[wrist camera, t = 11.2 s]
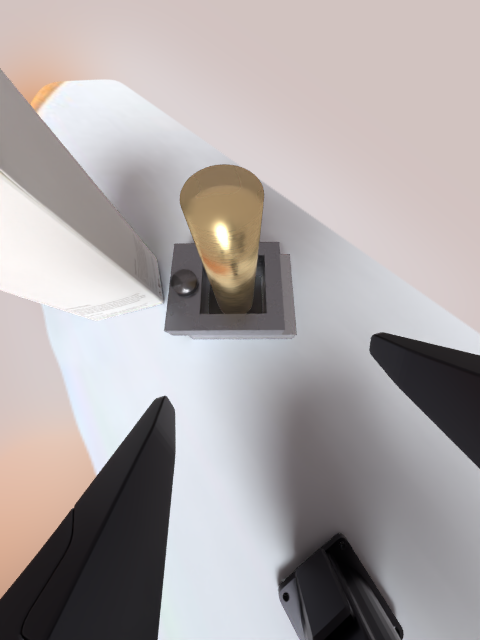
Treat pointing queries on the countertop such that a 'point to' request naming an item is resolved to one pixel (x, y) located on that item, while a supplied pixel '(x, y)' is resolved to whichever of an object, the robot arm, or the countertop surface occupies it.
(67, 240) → the skincare box
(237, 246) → the brass pin
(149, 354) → the countertop surface
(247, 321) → the gray open box
